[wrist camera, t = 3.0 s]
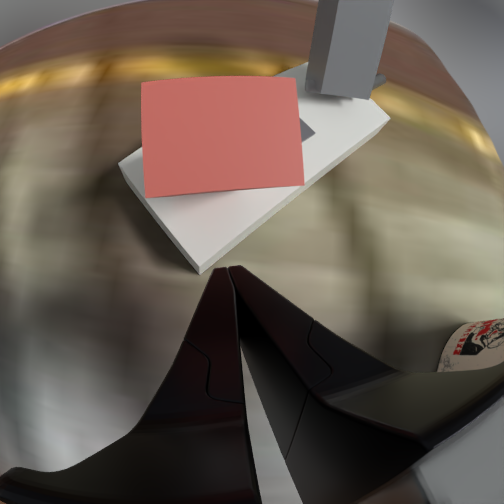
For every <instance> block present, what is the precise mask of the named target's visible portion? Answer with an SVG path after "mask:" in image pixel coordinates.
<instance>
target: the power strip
mask: <svg viewBox="0 0 504 504" xmlns="http://www.w3.org/2000/svg"><path fill="white" fill-rule="evenodd" d="M307 67H308V62H307V63H305V64H302V65H299V66H297V67H294V68H292V69H289V70H287V71H284V72H282V73H279V74H277V75H275V76H272V77H288V78H295V80H296V89H297V98H298V108H299V118H300V129H301V141H302V154H303V167H304V183H305V186H290V187H275V188H262V189H250V190H238V191H225V192H213V193H202V194H191V195H182V196H172V197H157V198H145V186H144V172H143V153H142V147H141V148H140V149H138V150H137V151H135V152H134V153H132V154H131V155H129V156H128V157H126V158H125V159H123V160H122V161H121V162H119V163H118V165H119V167H120V169H121V172H122V174H123V176H124V178H125V180H126V182H127V184H128V185H129V186H130V188H131V189H132V190H133V192H134V193H135V194H136V196H137V197H138V198H139V200H140V201H141V202H142V204H143V205H144V206H145V208H146V209H147V210H148V211H149V213H150V214H151V215H152V217H153V218H154V219H155V220H156V222H157V223H158V224H159V225H160V227H161V228H162V229H163V231H164V232H165V233H166V234H167V236H168V237H169V238H170V239H171V241H172V242H173V243H174V244H175V246H176V247H177V248H178V249H179V251H180V252H181V253H182V254H183V255H184V257H185V258H186V259H187V260H188V262H189V263H190V264H191V265H192V266H193V268H194V269H195V270H196V271H197V272H198V274H199V275H200V274H202V273H203V272H204V271H205V270H207V269H208V268H209V267H210V266H211V265H213V264H214V263H215V262H216V261H218V260H219V259H220V258H221V257H222V256H224V255H225V254H226V253H227V252H229V251H230V250H231V249H232V248H234V247H235V246H236V245H237V244H238V243H240V242H241V241H242V240H243V239H245V238H246V237H247V236H248V235H250V234H251V233H252V232H253V231H255V230H256V229H257V228H258V227H260V226H261V225H262V224H263V223H264V222H266V221H267V220H268V219H269V218H271V217H272V216H273V215H274V214H276V213H277V212H278V211H279V210H281V209H282V208H283V207H284V206H286V205H287V204H288V203H289V202H291V201H292V200H293V199H295V198H296V197H297V196H298V195H300V194H301V193H302V192H303V191H305V190H306V189H307V188H308V187H310V186H311V185H312V184H313V183H315V182H316V181H317V180H318V179H320V178H321V177H322V176H324V175H325V174H326V173H327V172H329V171H330V170H331V169H332V168H334V167H335V166H336V165H338V164H339V163H340V162H341V161H343V160H344V159H345V158H347V157H348V156H349V155H350V154H352V153H353V152H354V151H355V150H357V149H358V148H359V147H361V146H362V145H363V144H364V143H366V142H367V141H368V140H370V139H371V138H372V137H374V136H375V135H376V134H377V133H378V132H379V131H380V130H381V129H382V127H383V126H384V125H385V124H386V123H387V122H388V120H389V119H390V117H389V116H388V115H387V114H386V113H385V112H384V111H383V110H382V109H381V108H380V107H379V106H378V105H377V104H376V103H375V102H374V101H372V100H371V99H370V98H369V100H365V99H359V98H352V97H345V96H336V95H328V94H319V93H308V92H306V91H305V82H306V80H305V78H306V73H307ZM385 83H386V78H385V76H384V75H383V74H377V75H376V77H375V80H374V84H373V87H372V90H374V89H375V88H377V87H379V86H381V85H383V84H385Z"/></svg>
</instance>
